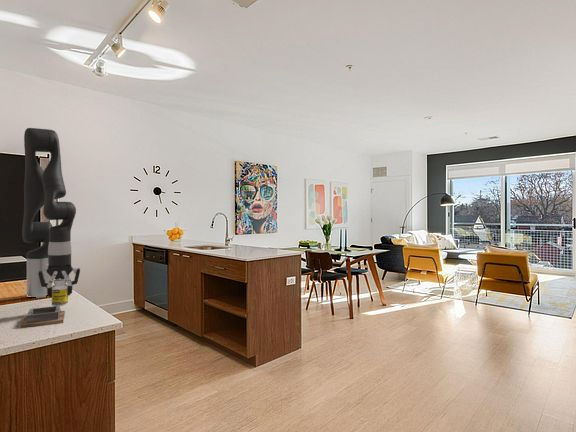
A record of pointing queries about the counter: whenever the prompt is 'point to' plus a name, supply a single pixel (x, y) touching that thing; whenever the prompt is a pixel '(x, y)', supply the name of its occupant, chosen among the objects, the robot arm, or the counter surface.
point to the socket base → (43, 316)
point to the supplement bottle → (59, 293)
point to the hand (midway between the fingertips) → (59, 295)
